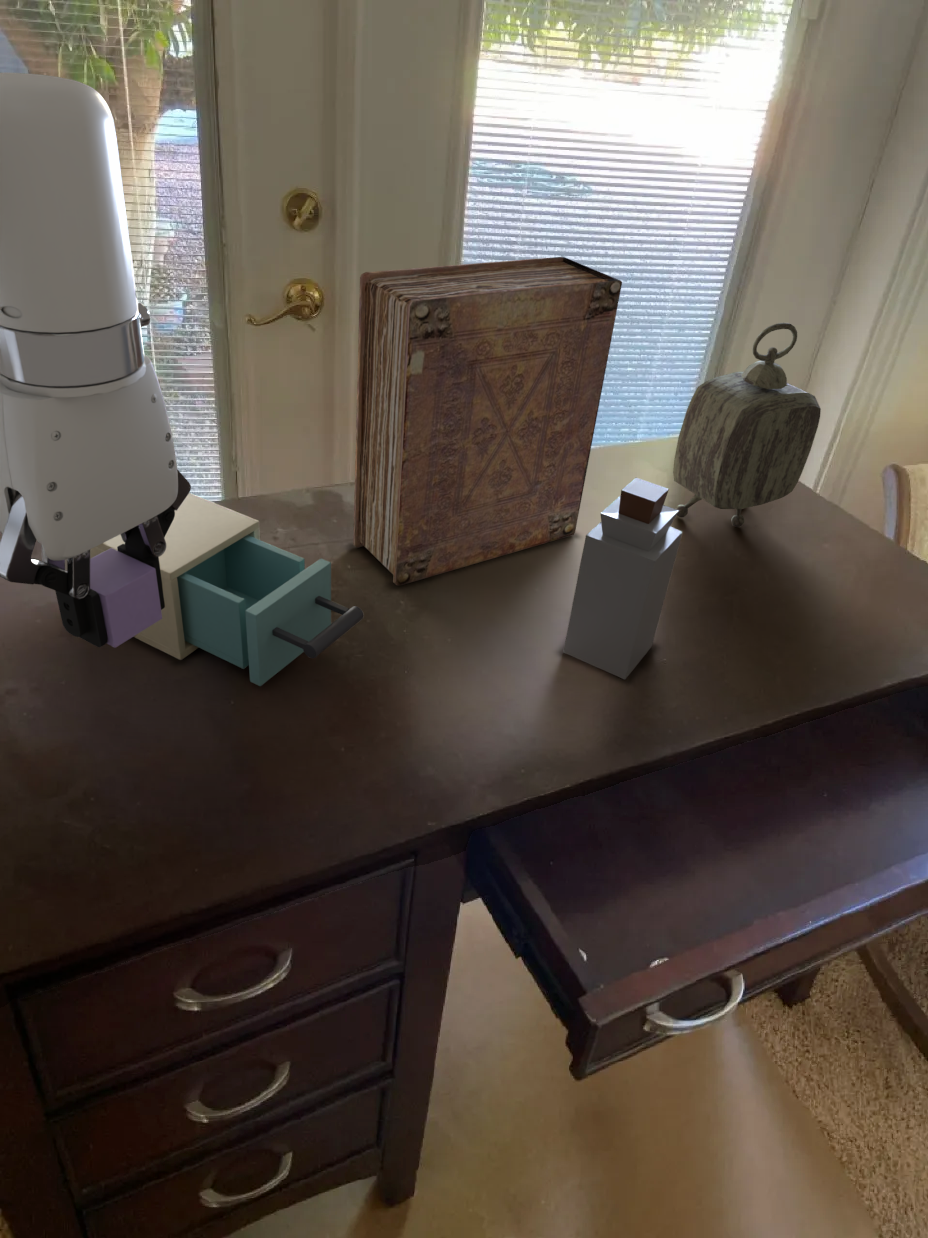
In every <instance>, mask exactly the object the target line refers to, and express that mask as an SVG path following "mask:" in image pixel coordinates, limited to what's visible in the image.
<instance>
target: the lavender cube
mask: <svg viewBox="0 0 928 1238" xmlns="http://www.w3.org/2000/svg"><path fill="white" fill-rule="evenodd" d="M90 589H92V590H94V591H96V592H97V593H99V596H100V600H101V606H102V611H103V616H104V622H105V627H106V632H107V638H108V640H107V643H106V645H109V646H110V647H112V648H114V649H116V648H117V647H119V646H120V645H122V644H124V643H125V642H127V641H128V640H130V639H132V638H134V637H133V636H135V635H137V634H138V633H140V632H141V631H143V630H145V629H146V628H148V627H149V626H151V625H153V624H154V623H156V622H157V621H159V620H161V619H162V613H161V606H160V598H159V591H158V584H157V577H156V569H155V568H153V567H151V566H149V565H147V564H145V563H142V562H140V561H138V560H136V559H134V558H132V557H130V556H127V555H125V554H123V553H121V552H119V551H117V550H115V549H112V548H110V549H108V550H106V551H104V552H102V553H101V554H99V555H97V556H95V557H93V558H91V559H90Z"/></svg>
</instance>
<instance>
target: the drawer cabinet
mask: <svg viewBox="0 0 928 1238" xmlns="http://www.w3.org/2000/svg"><path fill="white" fill-rule="evenodd" d="M260 532H261V531H260V521H259V520H258V519H255V518H252V517H250V516H248V515H246V514H243V513H240V512H237V511H235V510H233V509H230V508H228V507H226V506H223V505H221V504H218V503H215V502H213V501H211V500H208V499H205V498H203V497H200V496H199V495H195V494H193V493H191V492H189V494H188V495H187V497H186V498H185V500H184V501H183V502H182V504H181V505H180V507H179V508H178V510H177V511H176V510H175V517H174V520H173V522H172V523H171V525H170V527H169V529H168V531H167V533H166V535H165V537H164V538H165V541H166V550H165V552H164V553H163V554H162V555H161V556H160V557H159V564H160V571H161V579H162V588H163V596H164V603H165V608H163V609H162V610H161V613H162V619H161V620H159V621H157V622H156V623H154V624H153V625H151V626H149V627H148V628H146V629H145V630H143V631H141V632H140V633H138V634H137V635H135V636H133V637H132V638H135V639H137V640H138V641H141V642H142V643H145V644H147V645H149V646H151V647H153V648H154V649H157V650H159V651H161V652H163V653H165V654H167V655H169V656H171V657H173V658H175V659H177V660H179V661H182V660H183V659H186V657H188V656H190V655H191V654H192V653H193V652H195V651H196V650H198V649H200V648H199V647H197V646H195V645H193V644H191V643H188V642H186V641H185V639H184V631H183V622H182V614H181V606H180V597H179V589H178V581H177V577H178V576H180V575H182V574H183V573H185V572H187V571H188V570H190V569H192V568H193V567H195V566H197V565H198V564H200V563H202V562H203V561H205V560H207V559H208V558H210V557H211V556H213V555H215V554H216V553H218V552H220V551H221V550H223V549H225V548H226V547H228V546H230V545H231V544H233V543H235V542H236V541H238V540H240V539H241V538H243V537H245V536H246V535H248V536H251V537H253V538H256V539H258V540H261V533H260ZM122 544H125V542H124V541H123V540H122V537H121V534H120V535H118V536H116V537H114V538H112V539H110V540H108V541H106V542H104V543H102V544H100V545H98V546H96V547H94V548H92V549H90V559H91V558H93V557H95V556H97V555H99V554H101V553H102V552H104V551H106V550H108V549H110V548H112V549H115V550H117V551H118V549H117V547H118V546H120V545H122ZM67 560H68V559H66V561H67Z"/></svg>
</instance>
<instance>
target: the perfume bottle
mask: <svg viewBox="0 0 928 1238" xmlns="http://www.w3.org/2000/svg"><path fill="white" fill-rule="evenodd" d="M669 490H670V489H669V488H668V487H665V486H663V485H660V484H657V483H653V482H651V481H647V480H644V479H642V478H640V477H634V478H633V479H632V480H631V481H630V482H629V483H627V484H626V485H625V486H624V487H623V488H622V489H621V490H620V495H619V496H618V497H617V498H616V499H615V500H613V501H612V502H611V503H610V504H609V505H607V506H606V507H605V508H604V509H603V510H602V511H600V522H598V524H597V525H596V526H594V528H592V529H591V530H590V531H588V533H586V535H585V539H584V542H583V543H584V544H583V547H582V553H581V559H580V564H579V569H578V574H577V579H576V584H575V590H574V595H573V600H572V604H571V610H570V615H569V620H568V625H567V630H566V635H565V641H564V645H563V649H562V651H563V654H566V655H567V656H570V657H573V658H574V659H577V660H579V661H582V662H584V663H586V664H587V665H590V666H593V667H595V668H598V669H599V670H602V671H604V672H607V673H609V674H611V675H612V676H613V675H614V676H615V677H617V678H618V677H619V678H621V679H622V680H626V679H627V678H628V676H629V675H630V674H631V673H632V672H633V671H634V670H635V668H636V667H637V665H638V664H639V663H640V662H641V660H642V659H644V657H645V655H646V654H647V653H648V652H649V651H650V650H651V648H652V647H653V644H654V641H655V636H656V632H657V629H658V625H659V622H660V618H661V614H662V610H663V607H664V603H665V599H666V596H667V592H668V588H669V584H670V581H671V577H672V573H673V569H674V566H675V561H676V559H677V556H678V555H677V554H678V551H679V547H680V543H681V540H682V536H683V533H684V531H683V530H680V529H677V528H675V527H672V524H673V522H674V520H675V519H676V517H677V513H678V511H679V510H676V508H673V507H671V506H668V505H665V502H666V499H667V496H668V493H669Z"/></svg>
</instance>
